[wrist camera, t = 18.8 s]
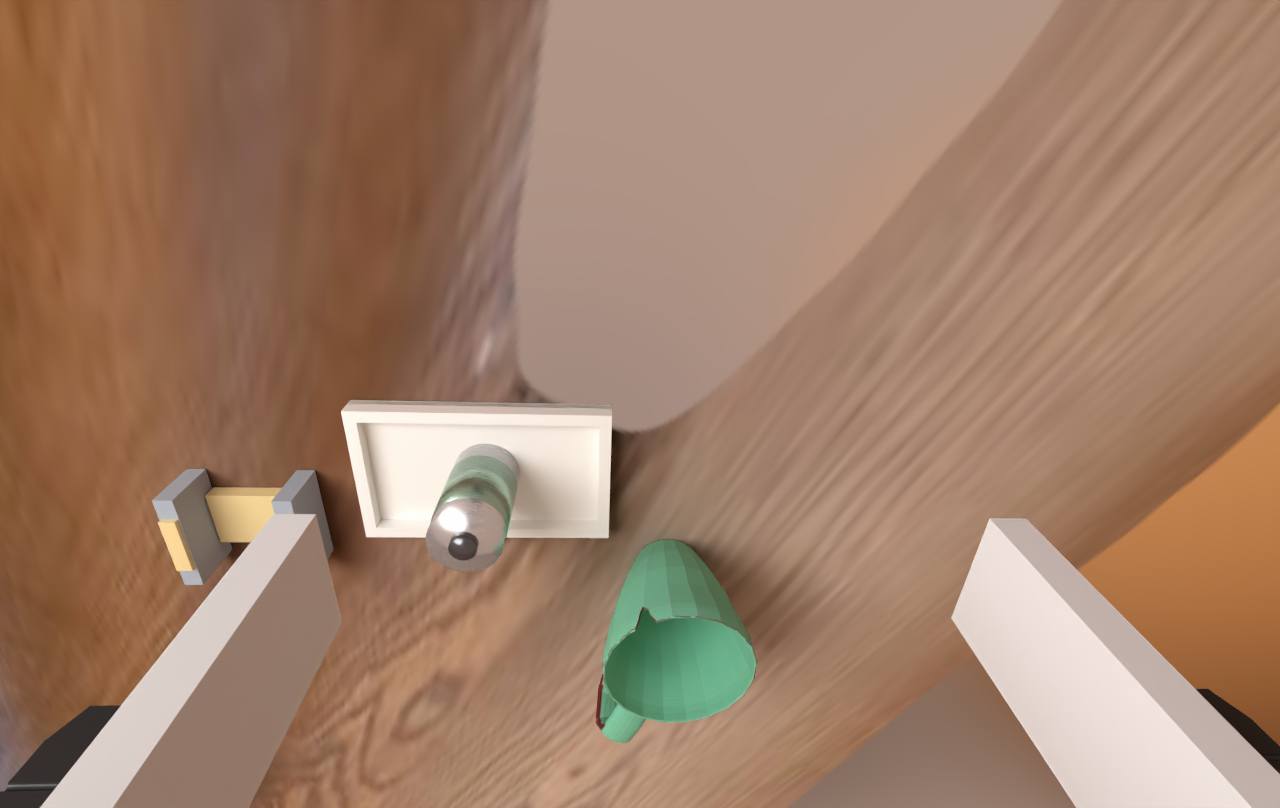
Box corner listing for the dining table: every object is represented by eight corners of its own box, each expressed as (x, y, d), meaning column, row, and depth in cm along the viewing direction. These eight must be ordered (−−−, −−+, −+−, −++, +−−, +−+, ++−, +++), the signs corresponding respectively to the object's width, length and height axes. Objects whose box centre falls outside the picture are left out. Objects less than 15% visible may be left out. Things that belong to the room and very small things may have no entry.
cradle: (187, 468, 41) (148, 503, 37) (315, 470, 42) (288, 504, 38) (215, 549, 44) (182, 587, 41) (333, 549, 45) (310, 587, 41)
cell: (451, 442, 40) (417, 517, 33) (519, 443, 41) (500, 518, 33) (457, 497, 42) (426, 579, 35) (521, 497, 43) (504, 579, 35)
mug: (641, 493, 44) (650, 595, 35) (752, 541, 46) (787, 647, 37) (554, 625, 49) (543, 741, 40) (658, 661, 52) (669, 777, 43)
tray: (350, 399, 39) (340, 411, 38) (611, 404, 40) (611, 415, 39) (374, 522, 44) (366, 537, 42) (608, 523, 45) (608, 538, 43)
